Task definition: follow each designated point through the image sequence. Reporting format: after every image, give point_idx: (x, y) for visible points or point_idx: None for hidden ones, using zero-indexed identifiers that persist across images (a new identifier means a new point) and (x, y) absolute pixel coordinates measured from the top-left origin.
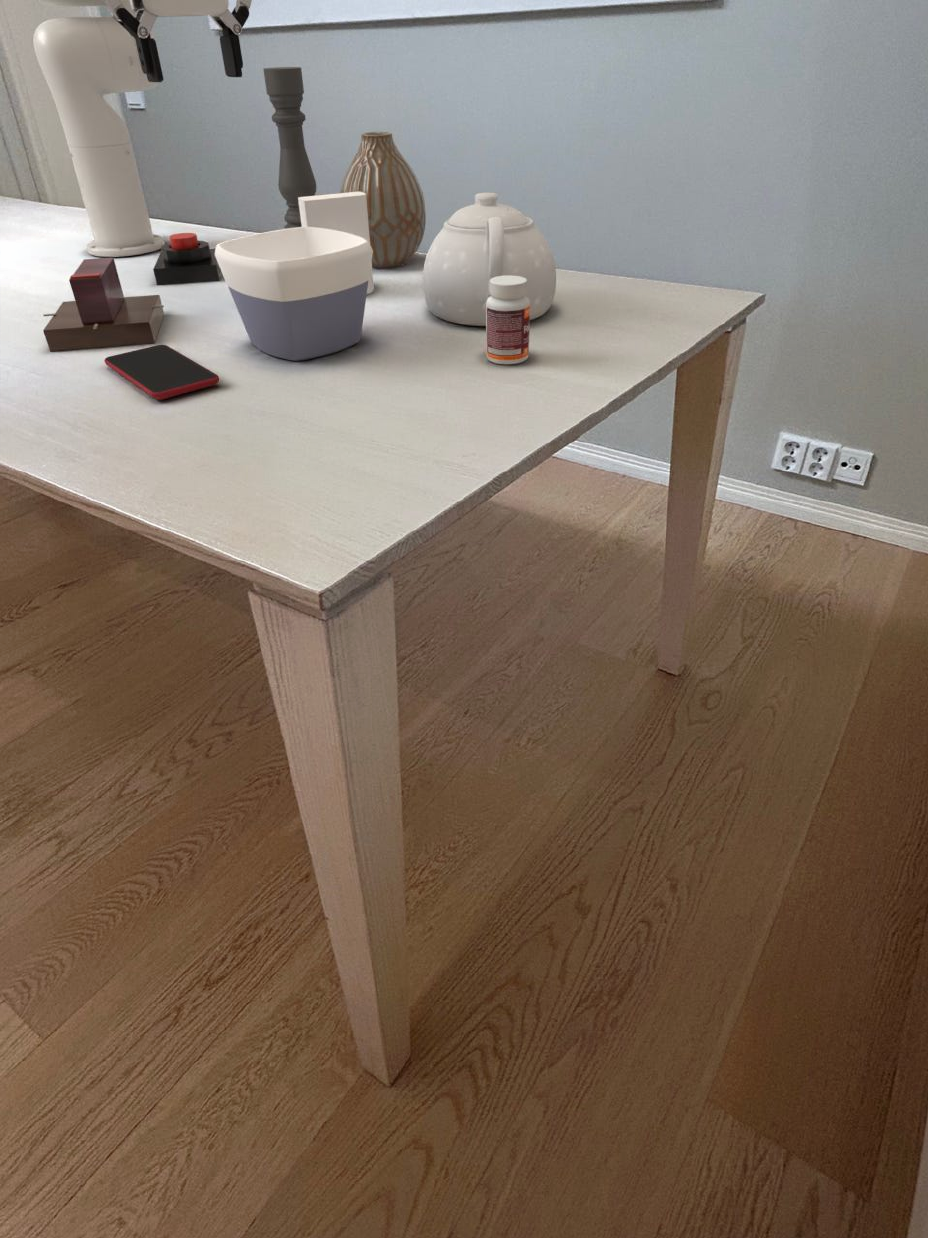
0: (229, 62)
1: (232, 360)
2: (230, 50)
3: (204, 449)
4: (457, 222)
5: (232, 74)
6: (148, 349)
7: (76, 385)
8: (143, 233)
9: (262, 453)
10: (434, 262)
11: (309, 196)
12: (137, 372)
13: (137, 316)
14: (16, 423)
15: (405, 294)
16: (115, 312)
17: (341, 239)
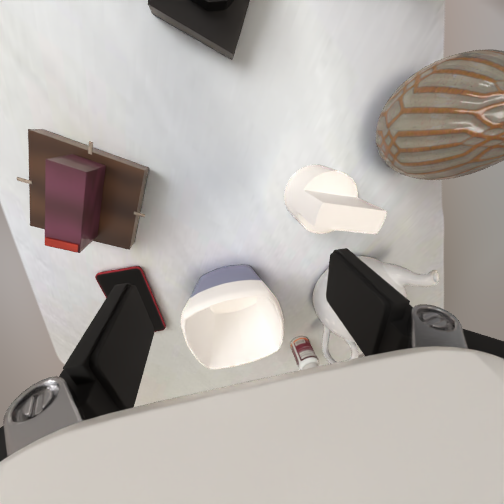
0: (339, 296)
1: (181, 295)
2: (351, 328)
3: (147, 372)
4: None
5: (328, 284)
6: (127, 273)
7: (79, 293)
8: None
9: (168, 379)
10: (328, 311)
11: (334, 206)
12: None
13: (119, 230)
14: (50, 327)
15: (336, 231)
16: (98, 220)
17: (278, 319)
